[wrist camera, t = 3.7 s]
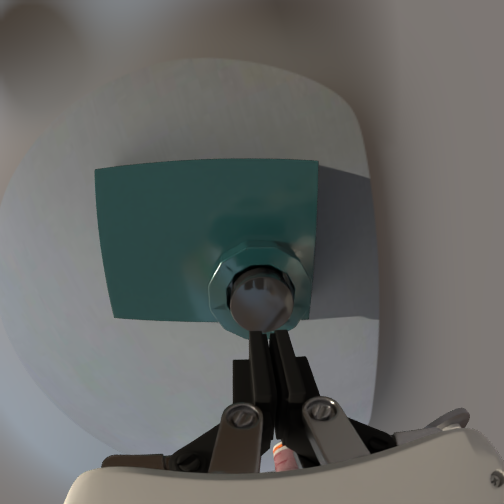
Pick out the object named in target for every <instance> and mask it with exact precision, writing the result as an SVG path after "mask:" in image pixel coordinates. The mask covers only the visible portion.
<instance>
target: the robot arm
mask: <svg viewBox="0 0 504 504" xmlns="http://www.w3.org/2000/svg"><path fill="white" fill-rule="evenodd" d="M274 427H275V433H276V439H277V440H278V439H281V441H282V446H285V445H286V447H287V448H289V449H291V450H293V455H294V458H295V461H296V463H297V465H298V468H299V469H297V470H288V471H279V472H266V473H260V463H261V456H262V455H263V454H264V453H265V452H266V451H267V450H268V449H270V443H271V440H273V435H274ZM64 504H504V460H503V459H502V457H501V456H500V454H499V453H498V451H497V450H496V449H495V447H494V446H493V445H492V444H491V442H490V441H489V440H488V439H487V438H486V437H485V436H484V435H483V434H482V433H481V432H479V431H478V430H475V429H470V428H461V426H460V425H459V424H458V423H454V424H451V425H449V426H447V427H445V428H443V429H440V428H437V427H430V428H424V429H418V430H411V431H403V432H396V433H394V434H393V435H389V434H387V433H385V432H383V431H380V430H378V429H375V428H372V427H370V426H367V425H365V424H362V423H360V422H357V421H355V420H353V419H350V418H348V417H347V416H346V414H345V413H344V411H343V410H342V408H341V407H340V405H339V404H338V403H337V402H336V401H335V400H333V399H332V398H329V397H324V396H320V394H319V391H318V388H317V385H316V383H315V380H314V377H313V374H312V371H311V368H310V366H309V363H308V360H307V358H306V357H305V356H303V357H295V354H294V350H293V347H292V344H291V341H290V337H289V334H288V331H287V330H275V331H274V333H270V339H269V345H268V339H267V334H262V331H249V360H233V404H232V405H230V406H228V407H227V408H226V409H225V410H224V412H223V414H222V417H221V421H220V423H219V424H218V425H217V426H215V427H214V428H212V429H211V430H209V431H208V432H206V433H205V434H203V435H202V436H200V437H199V438H197V439H196V440H194V441H192V442H191V443H189V444H188V445H186V446H184V447H183V448H181V449H180V450H178V451H176V452H175V453H174V454H173V455H169V456H163V454H148V455H111V456H109V457H107V458H106V459H105V460H104V461H103V462H102V466H101V468H97V469H93V470H89V471H87V472H84V473H83V474H81V475H80V476H79V477H78V478H77V479H76V480H75V482H74V483H73V485H72V487H71V488H70V491H69V492H68V495H67V497H66V500H65V502H64Z"/></svg>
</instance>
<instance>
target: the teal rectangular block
mask: <svg viewBox="0 0 504 504" xmlns="http://www.w3.org/2000/svg"><path fill="white" fill-rule="evenodd" d="M318 164H319V162H318V161H313V160H293V159H201V160H181V161H167V162H154V163H143V164H134V165H125V166H116V167H109V168H101V169H95V193H96V208H97V219H98V229H99V238H100V246H101V253H102V259H103V266H104V272H105V277H106V283H107V288H108V293H109V298H110V303H111V307H112V311H113V316H114V318H122V319H137V320H155V321H183V322H219V323H220V324H221V326H222V327H223V328H224V329H225V330H227V331H229V332H232V333H234V334H236V335H238V336H240V337H243V338H245V339H248V340H249V331H248V330H246V329H244V328H242V327H241V326H240V325H239V324H237V322H236V321H235V320H234V318H233V316H232V314H231V310H230V299H231V289H232V286H233V284H234V282H235V280H236V279H237V278H238V277H239V276H240V275H241V274H242V273H244V272H245V271H248V270H250V269H253V268H260V267H263V268H269V269H273V270H275V271H277V272H278V273H280V274H281V275H282V276H283V277H284V278H285V280H286V281H287V283H288V286H289V288H290V290H291V293H292V295H293V299H294V308H293V312H292V314H291V316H290V318H289V319H288V321H287V322H286V323H285V324H284V325H282V326H281V327H280V328H278V329H276V330H287V331H289V330H291V329H293V328H295V327H296V325H297V324H298V323H299V321H300V320H307V319H309V313H310V303H311V293H312V282H313V270H314V257H315V242H316V225H317V203H318ZM274 331H275V330H274ZM274 331H271V332H266V333H262V334H267V339H270V333H274Z"/></svg>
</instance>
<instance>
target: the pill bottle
mask: <svg viewBox="0 0 504 504" xmlns="http://www.w3.org/2000/svg"><path fill="white" fill-rule="evenodd" d="M273 453H274V461H275V469H276V472H279V471H288V470H297V469H299V468H298V465H297V463H296V461H295V458H294V455H293V450H291V449H289V448H287V447H286V445H285V446H282V442H280V443H278V444H277V445H275V446H274V448H273Z"/></svg>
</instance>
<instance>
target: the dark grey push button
mask: <svg viewBox="0 0 504 504" xmlns="http://www.w3.org/2000/svg"><path fill="white" fill-rule="evenodd" d="M293 308H294V299H293V295H292V293H291V290H290V288H289V286H288V283H287V281H286V280H285V278H284V277H283V276H282V275H281V274H280V273H278V272H277V271H275V270H273V269H269V268H263V267H260V268H253V269H250V270H248V271H245V272H244V273H242V274H241V275H240V276H239V277H238V278H237V279H236V280H235V282H234V284H233V286H232V289H231V299H230V310H231V314H232V316H233V318H234V320H235V321H236V322H237V324H239V325H240V326H241V327H242V328H244V329H246V330H248V331H262V333H266V332H271V331H274V330H276V329H278V328H280V327H281V326H282V325H284V324H285V323H286V322H287V321H288V319H289V318H290V316H291V314H292V312H293Z"/></svg>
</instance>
